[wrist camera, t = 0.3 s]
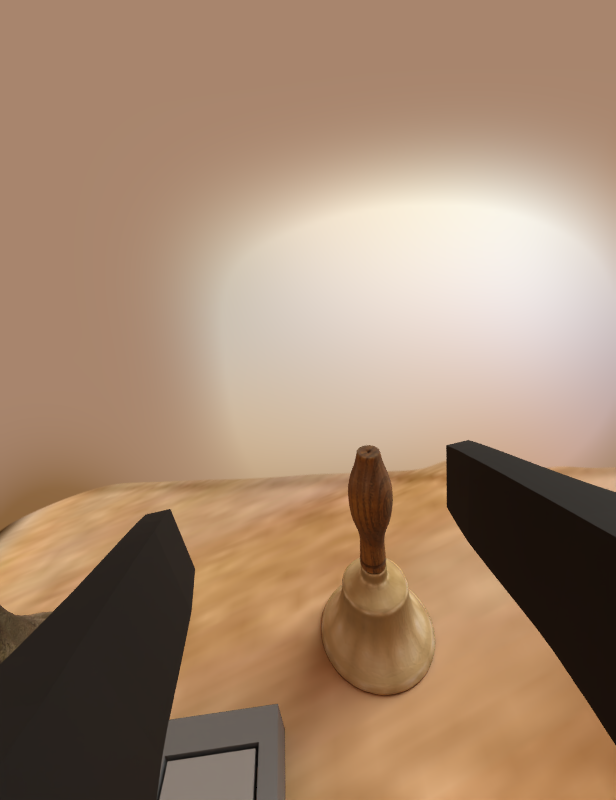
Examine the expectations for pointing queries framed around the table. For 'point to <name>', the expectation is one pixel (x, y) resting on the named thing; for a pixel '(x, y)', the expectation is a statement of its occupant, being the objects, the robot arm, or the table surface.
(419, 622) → the hand bell
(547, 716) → the table surface
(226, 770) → the port panel
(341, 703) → the table surface
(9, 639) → the tree stump
